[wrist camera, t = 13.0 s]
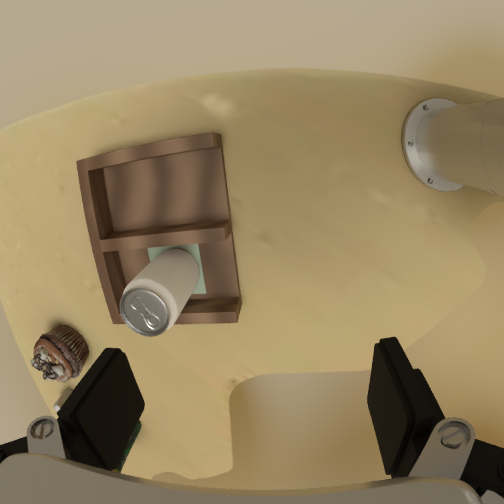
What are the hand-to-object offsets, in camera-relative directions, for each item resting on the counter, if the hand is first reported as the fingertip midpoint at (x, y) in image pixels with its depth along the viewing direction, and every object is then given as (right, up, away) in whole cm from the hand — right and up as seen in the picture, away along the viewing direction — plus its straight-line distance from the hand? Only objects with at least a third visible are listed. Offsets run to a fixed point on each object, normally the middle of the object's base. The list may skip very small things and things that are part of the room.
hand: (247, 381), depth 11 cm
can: (-10, +2, +31) cm, 33 cm away
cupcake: (-33, -12, +39) cm, 53 cm away
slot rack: (-11, +7, +30) cm, 33 cm away
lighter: (-39, -25, +44) cm, 64 cm away
